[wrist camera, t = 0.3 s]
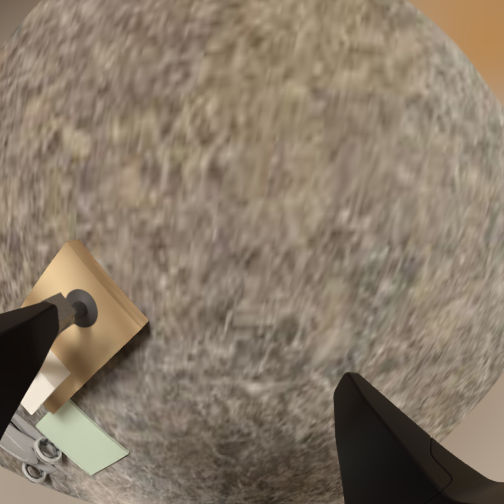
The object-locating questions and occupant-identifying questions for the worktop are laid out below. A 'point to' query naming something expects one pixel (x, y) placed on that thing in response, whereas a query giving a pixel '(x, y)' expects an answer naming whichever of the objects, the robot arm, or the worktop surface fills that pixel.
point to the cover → (45, 383)
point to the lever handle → (67, 311)
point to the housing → (93, 324)
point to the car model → (30, 448)
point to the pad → (81, 438)
